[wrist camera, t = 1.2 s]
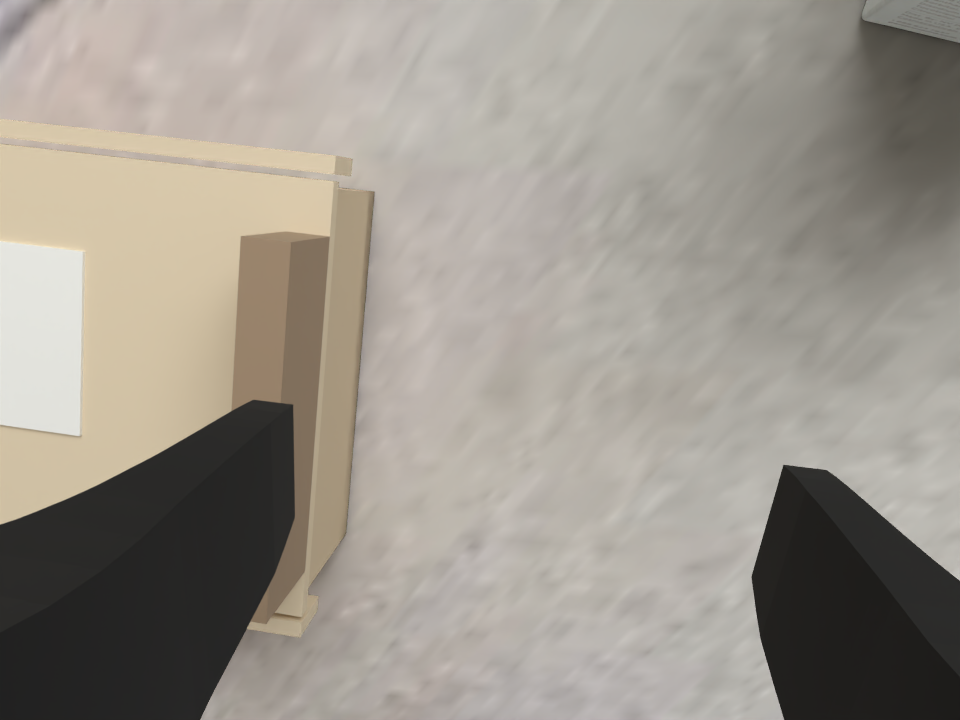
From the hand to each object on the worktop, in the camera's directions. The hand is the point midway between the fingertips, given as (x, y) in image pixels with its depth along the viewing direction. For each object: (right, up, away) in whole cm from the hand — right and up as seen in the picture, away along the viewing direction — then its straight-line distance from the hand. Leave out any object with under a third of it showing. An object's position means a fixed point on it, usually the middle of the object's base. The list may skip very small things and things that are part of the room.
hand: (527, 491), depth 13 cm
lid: (-11, +2, +9) cm, 15 cm away
